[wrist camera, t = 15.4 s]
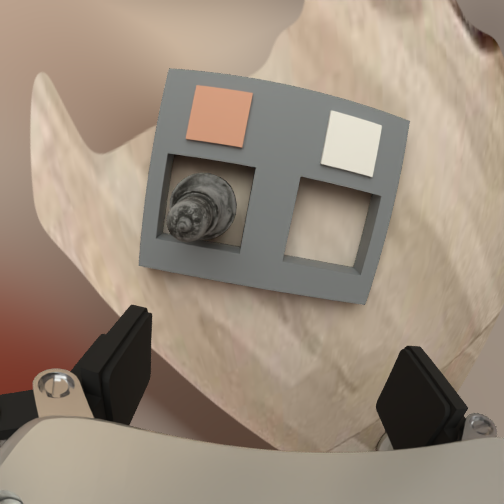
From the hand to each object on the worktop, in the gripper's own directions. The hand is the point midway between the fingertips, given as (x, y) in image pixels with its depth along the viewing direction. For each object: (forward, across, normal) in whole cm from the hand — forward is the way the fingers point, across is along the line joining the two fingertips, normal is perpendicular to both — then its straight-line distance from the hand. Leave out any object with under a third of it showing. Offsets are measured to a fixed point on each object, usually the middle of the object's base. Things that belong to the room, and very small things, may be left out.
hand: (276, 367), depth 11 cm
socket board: (+21, 0, -5) cm, 22 cm away
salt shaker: (+22, +6, -2) cm, 22 cm away
